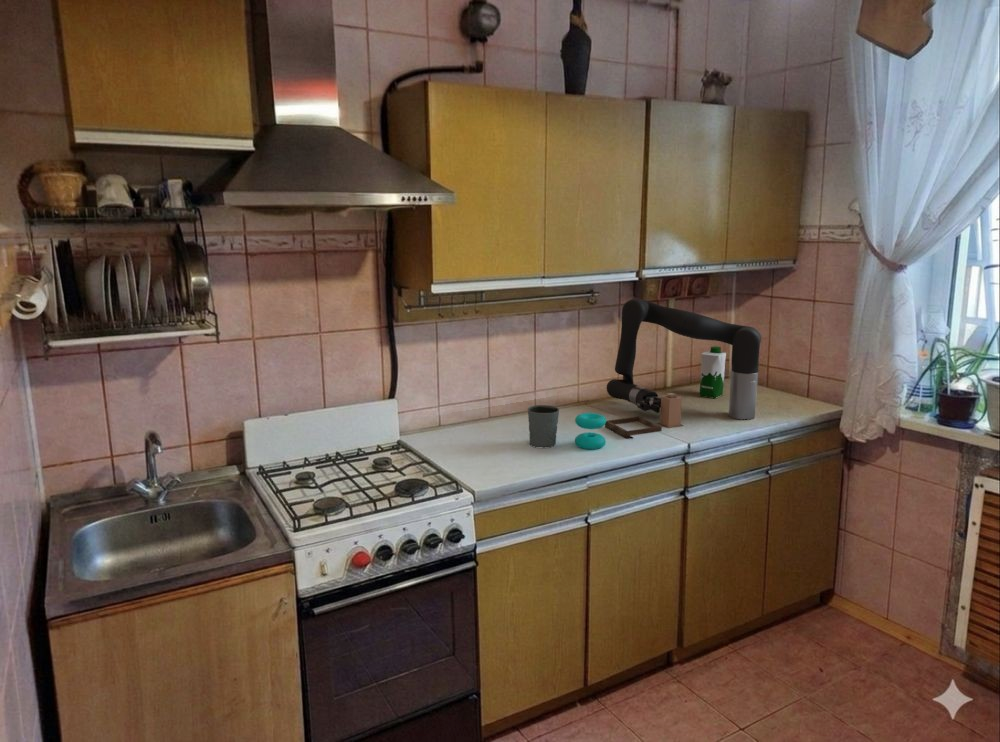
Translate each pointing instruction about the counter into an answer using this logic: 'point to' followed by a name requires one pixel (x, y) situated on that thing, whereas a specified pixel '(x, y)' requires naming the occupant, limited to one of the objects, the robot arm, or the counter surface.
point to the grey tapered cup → (543, 425)
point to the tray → (627, 434)
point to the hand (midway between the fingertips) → (669, 408)
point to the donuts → (589, 438)
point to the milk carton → (712, 372)
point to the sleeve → (670, 411)
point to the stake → (670, 395)
